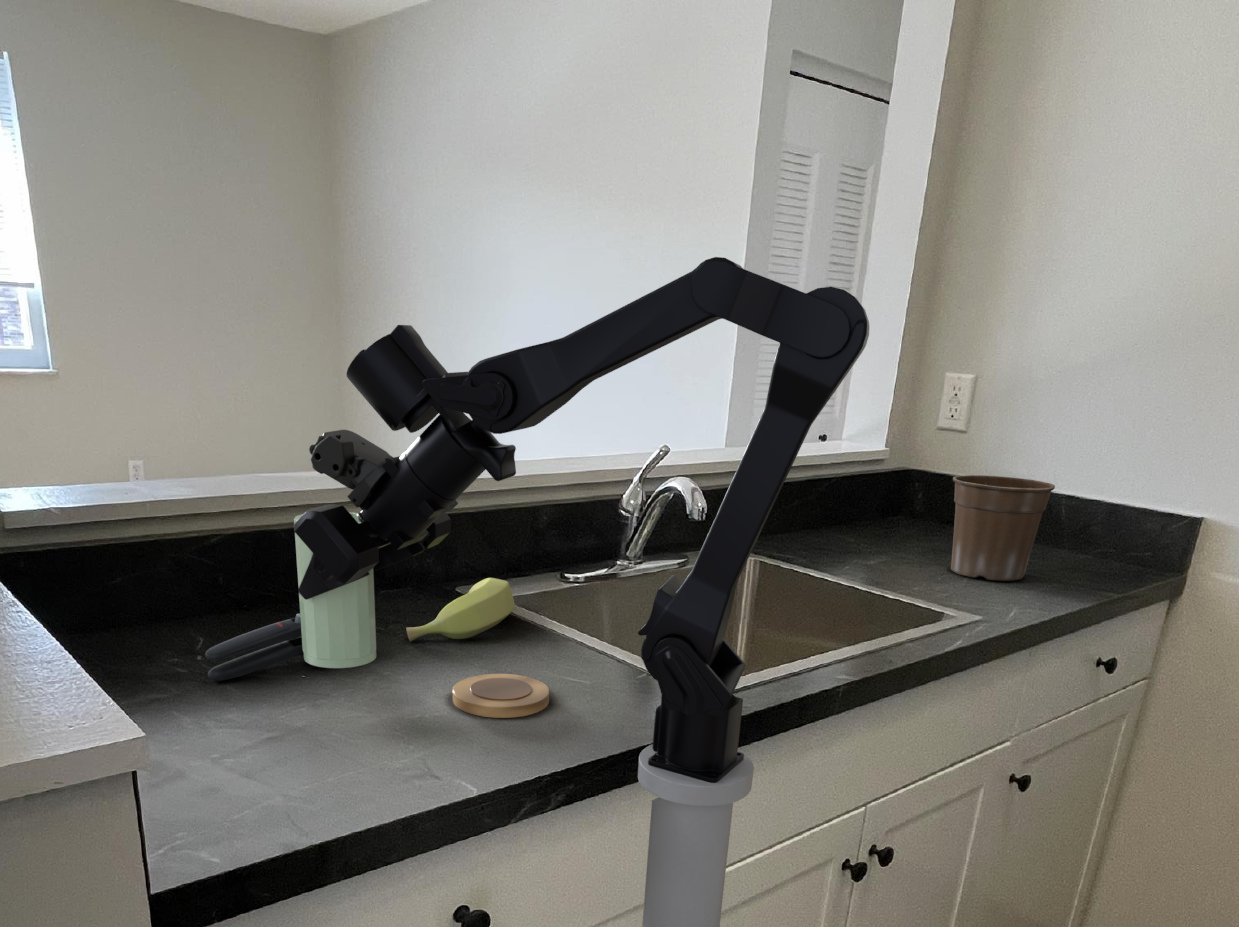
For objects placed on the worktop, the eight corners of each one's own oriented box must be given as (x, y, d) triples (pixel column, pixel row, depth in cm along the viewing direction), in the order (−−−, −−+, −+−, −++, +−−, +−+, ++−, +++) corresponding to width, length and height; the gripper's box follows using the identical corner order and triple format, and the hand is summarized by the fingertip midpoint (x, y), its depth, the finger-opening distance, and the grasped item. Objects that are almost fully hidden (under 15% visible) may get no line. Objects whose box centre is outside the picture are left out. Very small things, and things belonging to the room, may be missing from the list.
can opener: (340, 644, 116) (337, 598, 114) (372, 659, 112) (370, 611, 110) (192, 673, 104) (187, 623, 102) (221, 692, 100) (216, 639, 98)
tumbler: (387, 661, 90) (382, 522, 86) (317, 672, 87) (308, 527, 82) (361, 642, 95) (355, 509, 91) (294, 651, 92) (284, 513, 87)
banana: (541, 565, 127) (429, 612, 113) (552, 606, 129) (442, 656, 115) (471, 573, 136) (359, 617, 122) (482, 610, 138) (372, 658, 124)
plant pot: (917, 565, 174) (933, 474, 169) (984, 561, 181) (1001, 473, 175) (986, 588, 161) (1005, 489, 155) (1055, 582, 167) (1076, 487, 162)
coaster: (567, 697, 103) (567, 685, 103) (512, 726, 95) (513, 713, 95) (490, 677, 108) (490, 666, 107) (432, 703, 100) (432, 691, 99)
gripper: (418, 394, 90) (319, 503, 97) (308, 405, 74) (197, 536, 80) (497, 487, 91) (394, 589, 98) (405, 519, 74) (288, 639, 81)
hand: (323, 586), depth 89 cm, fingers closed on tumbler, 7 cm apart
